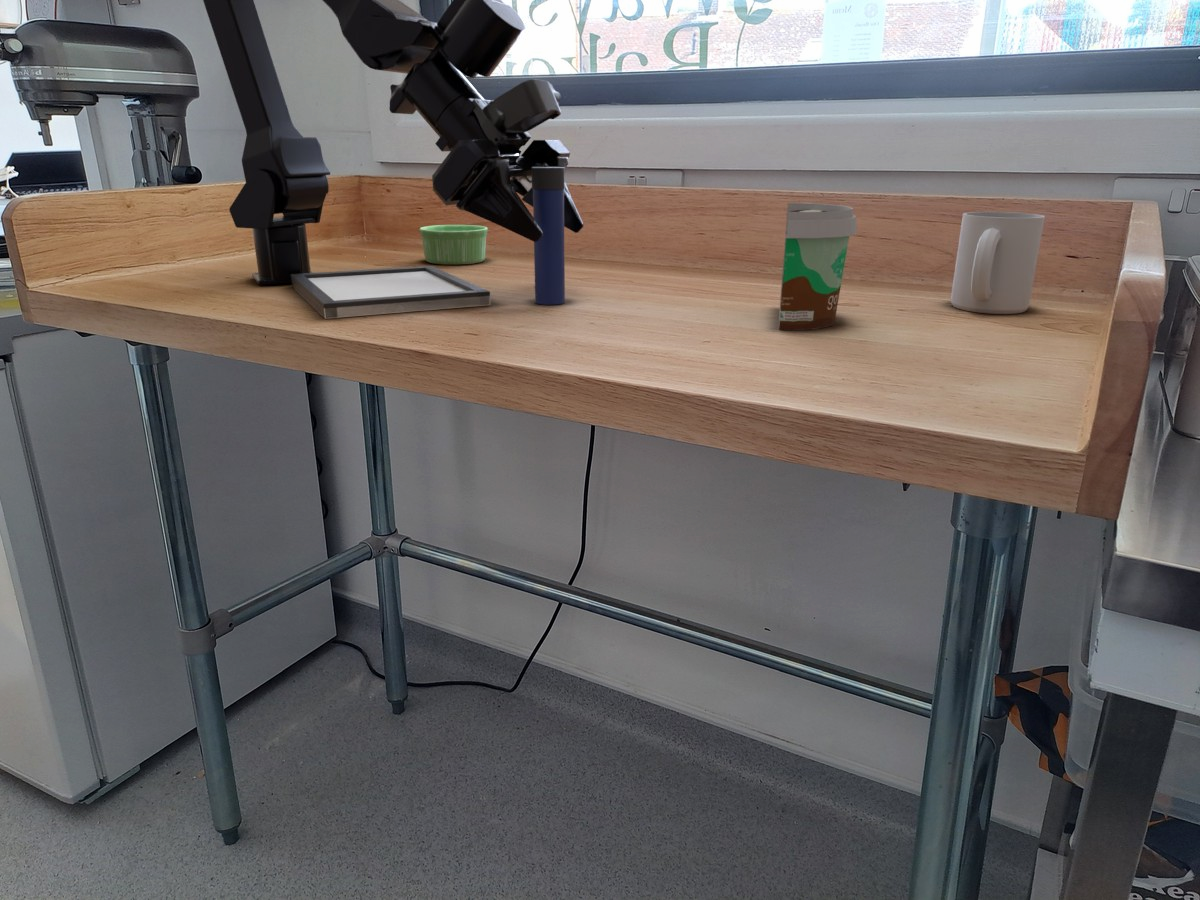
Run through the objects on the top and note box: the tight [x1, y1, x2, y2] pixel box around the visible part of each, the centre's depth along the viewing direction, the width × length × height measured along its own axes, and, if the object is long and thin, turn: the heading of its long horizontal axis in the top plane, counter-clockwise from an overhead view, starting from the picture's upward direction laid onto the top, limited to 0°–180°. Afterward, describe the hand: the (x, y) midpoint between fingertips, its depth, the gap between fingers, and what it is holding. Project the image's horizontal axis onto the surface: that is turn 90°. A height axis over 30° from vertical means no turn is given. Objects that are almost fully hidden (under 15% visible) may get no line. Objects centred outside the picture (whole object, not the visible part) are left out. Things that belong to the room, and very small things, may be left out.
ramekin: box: [419, 224, 489, 266], centre depth 115 cm, size 9×9×4 cm
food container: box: [778, 202, 858, 331], centre depth 77 cm, size 12×6×10 cm, turn 168°
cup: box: [950, 211, 1046, 315], centre depth 82 cm, size 7×10×9 cm
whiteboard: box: [291, 265, 492, 320], centre depth 90 cm, size 20×16×1 cm
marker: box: [531, 167, 566, 306], centre depth 84 cm, size 3×3×13 cm
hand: (561, 233), depth 84 cm, fingers open, 9 cm apart
